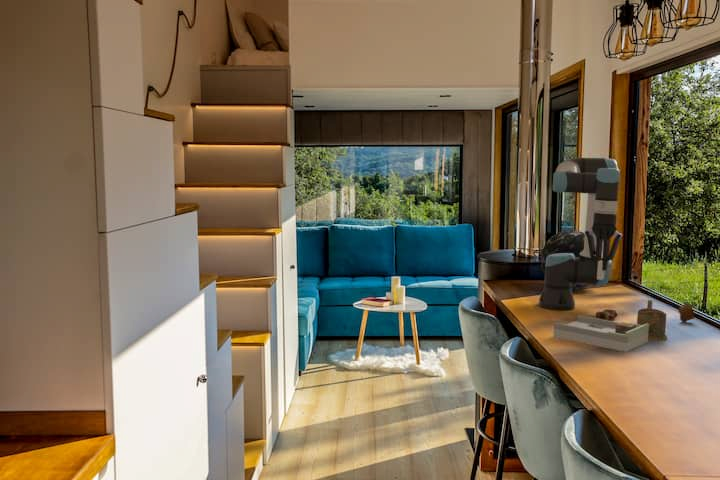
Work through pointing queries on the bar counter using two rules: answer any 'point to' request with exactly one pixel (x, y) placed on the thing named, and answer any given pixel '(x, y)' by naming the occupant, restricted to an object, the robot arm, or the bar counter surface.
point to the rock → (686, 312)
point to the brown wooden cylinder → (653, 322)
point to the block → (624, 327)
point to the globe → (564, 247)
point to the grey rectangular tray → (602, 333)
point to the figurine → (607, 314)
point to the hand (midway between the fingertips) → (600, 279)
